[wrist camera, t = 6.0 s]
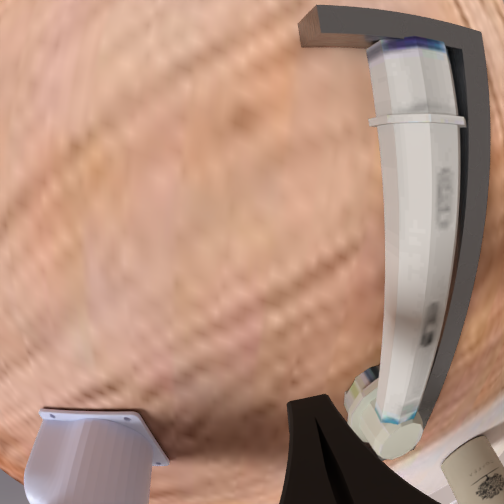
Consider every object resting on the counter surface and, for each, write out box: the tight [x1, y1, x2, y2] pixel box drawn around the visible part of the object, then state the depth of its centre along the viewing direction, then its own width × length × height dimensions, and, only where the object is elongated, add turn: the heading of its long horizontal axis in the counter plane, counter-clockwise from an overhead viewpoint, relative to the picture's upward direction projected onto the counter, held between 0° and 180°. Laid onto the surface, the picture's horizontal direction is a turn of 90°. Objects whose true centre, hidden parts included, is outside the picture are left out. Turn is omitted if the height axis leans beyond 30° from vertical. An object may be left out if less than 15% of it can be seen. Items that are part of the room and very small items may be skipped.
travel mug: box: [441, 436, 504, 504], centre depth 24 cm, size 8×8×18 cm
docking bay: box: [298, 5, 490, 461], centre depth 17 cm, size 8×31×3 cm, turn 7°
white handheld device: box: [344, 36, 466, 460], centre depth 16 cm, size 5×7×25 cm
